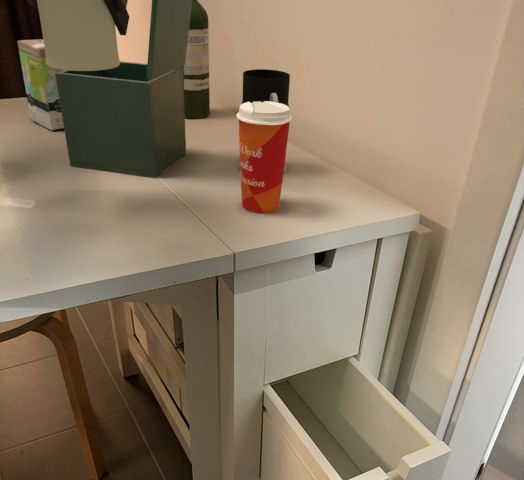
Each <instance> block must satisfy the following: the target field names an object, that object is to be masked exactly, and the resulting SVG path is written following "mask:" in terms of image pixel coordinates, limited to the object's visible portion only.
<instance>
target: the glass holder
mask: <svg viewBox="0 0 524 480" xmlns="http://www.w3.org/2000/svg"><path fill="white" fill-rule="evenodd" d="M290 81H291V74H290V73H288V72H286V71H282V70H277V69H266V68H263V69H261V68H260V69H259V68H257V69H248V70H244V71H243V72H242V101H241V104H243V103H246V102H250V103H253V102H257V101H261V102H264V101H269V102H277V103H281V104H284V105H287V106H288V107H289V108H290V103H289V99H290V97H289V96H290V83H291V82H290ZM241 104H240V105H241ZM286 157H287V156H286ZM286 157H285V165H284V173H283V175H284V174H286V173H287V172H288V166H287V162H286V160H287V159H286ZM237 170H238V171H239V172H241V171H240V161H239V162H238V165H237Z"/></svg>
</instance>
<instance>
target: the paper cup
mask: <svg viewBox="0 0 524 480" xmlns="http://www.w3.org/2000/svg"><path fill="white" fill-rule="evenodd" d="M235 116H236V119H238V138H239V139H238V141H239V142H238V143H239V162H240V171H239V172H240V192H241V193H240V194H241V205H242V208H243V209H244V210H246V211H248V212H251V213H255V214H256V213H257V214H267V213H273V212H275V211H277V210H278V209H279V208H280V203H281V195H282V187H283V179H284V174H285V173H284V165H285V161H286V160H285V157H287V147H288V140H289V131H290V122H292V121H293V116H292V114H291V109H290V106H289V107H288V106H287V105H284V104H281V103H277V102H269V101H264V102H261V101H257V102H253V103H250V102H246V103H243V104H239V108H238V112H237V113H236V115H235ZM283 173H284V174H283Z"/></svg>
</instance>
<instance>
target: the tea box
mask: <svg viewBox="0 0 524 480" xmlns="http://www.w3.org/2000/svg"><path fill="white" fill-rule="evenodd" d="M17 47H18V55H19V59H20V65H21V71H22V76H23V83H24V87H25V94H26V99H27V105H28V106H27V107H28V110H29V116H30V120H32V121H34V122H35V123H37V124H38V125H40V126H42V127H44V128H45V129H48V130H50V131H52V132H53V131H56V130H60V129H61V130H62V129H64V124H63V118H62V112H61V106H60V100H59V94H58V88H57V82H56V76H55V73H57V72H60V71H63V70H61V69H56V68H52V67H50V66H48V65H47V64H46V54H45V46H44V40H43V38H42V39H41V38H40V39H21V40H17Z"/></svg>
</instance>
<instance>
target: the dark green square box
mask: <svg viewBox="0 0 524 480" xmlns="http://www.w3.org/2000/svg"><path fill="white" fill-rule="evenodd" d="M55 76H56V82H57V88H58V94H59V100H60V106H61V112H62V118H63V124H64V128H63V129H64V130H63V131H64V135H65V136H64V137H65V142H66V147H67V154H68V158H69V165H70V167H76V168H82V169H90V170H97V171H104V172H111V173H118V174H126V175H133V176H138V177H139V176H141V177H146V178H147V177H148V178H154V179H156V178H158V177H159V176H161V175H162V174H163V173H164V172H165V171H167V170H168V169H169V168H171V166H173V165H174V164H175V163H176V162H178V161H179V160H180V159H182V158H183V157H184V156H185V155H187V143H186V142H187V140H186V139H187V138H186V118H185V113H184V88H183V68H182V67H179V68H177V69H175V70H173V71H170V72H168V73H166V74H164V75H162V76H159V77H157V78H155V79H153V80H149V79H146V77H147V63H141V62H132V61H131V62H129V61H122V60H120V65H119V66H118V67H115V68H112V69H107V70H98V71H70V70H63V71H60V72H57V73H55Z"/></svg>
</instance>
